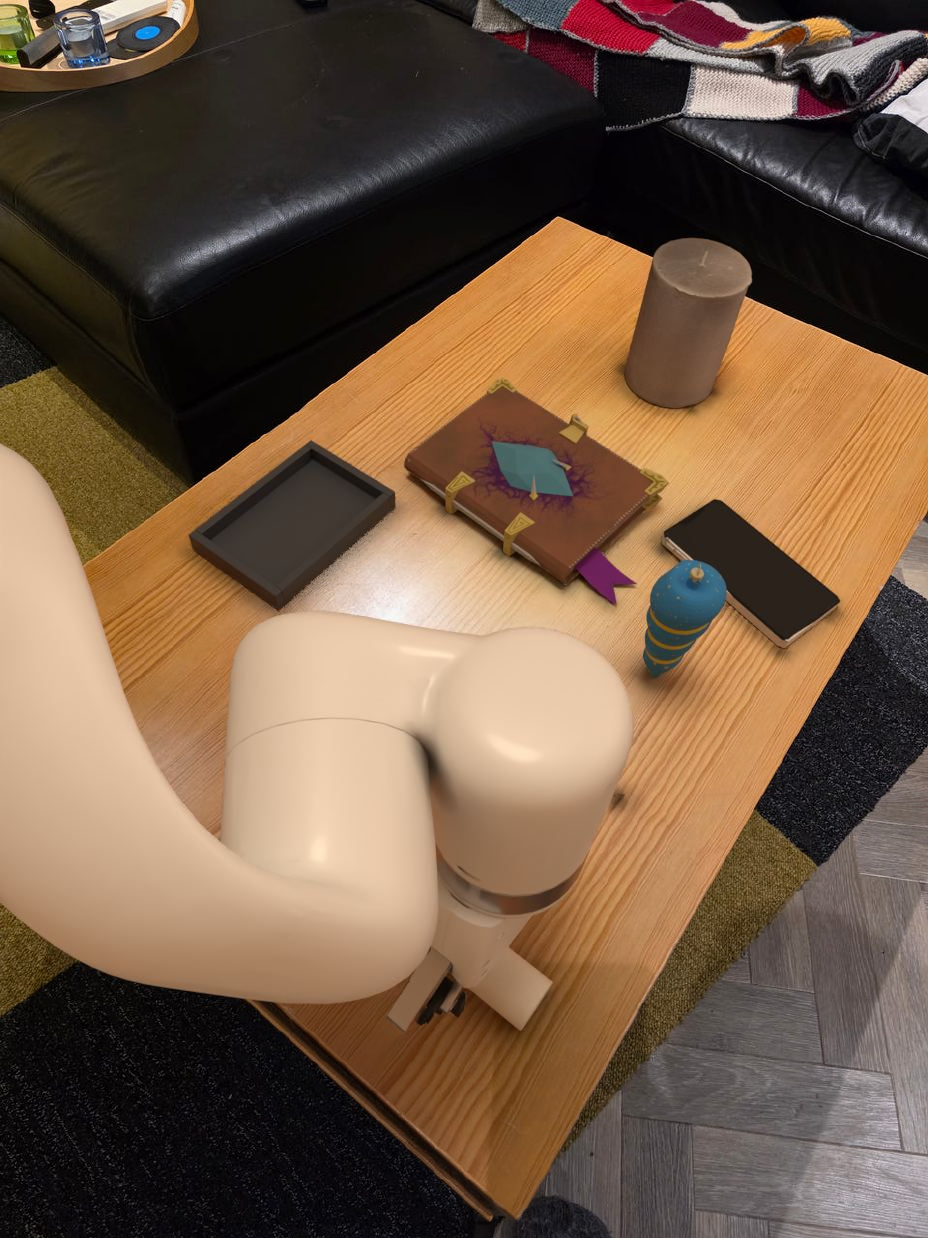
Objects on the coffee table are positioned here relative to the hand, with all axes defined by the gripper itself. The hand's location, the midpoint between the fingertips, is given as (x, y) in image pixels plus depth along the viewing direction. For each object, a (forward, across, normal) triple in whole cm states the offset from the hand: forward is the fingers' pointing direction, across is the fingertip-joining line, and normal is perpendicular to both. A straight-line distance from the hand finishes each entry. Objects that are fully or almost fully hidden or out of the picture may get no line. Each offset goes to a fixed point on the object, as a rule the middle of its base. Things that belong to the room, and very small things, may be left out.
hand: (488, 932), depth 55 cm
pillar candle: (+6, -61, -20) cm, 64 cm away
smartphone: (+6, -42, -1) cm, 42 cm away
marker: (+6, 0, 0) cm, 6 cm away
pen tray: (+6, -20, -36) cm, 42 cm away
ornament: (+6, -27, -2) cm, 28 cm away
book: (+6, -38, -20) cm, 43 cm away
